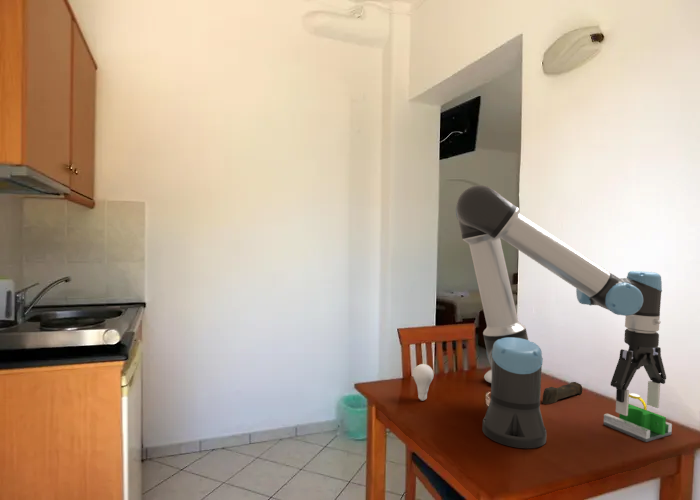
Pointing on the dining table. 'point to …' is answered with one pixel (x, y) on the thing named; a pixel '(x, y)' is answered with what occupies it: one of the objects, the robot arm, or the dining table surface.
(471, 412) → the dining table surface
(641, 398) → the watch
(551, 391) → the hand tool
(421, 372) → the lightbulb
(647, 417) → the pipe clamp
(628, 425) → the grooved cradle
